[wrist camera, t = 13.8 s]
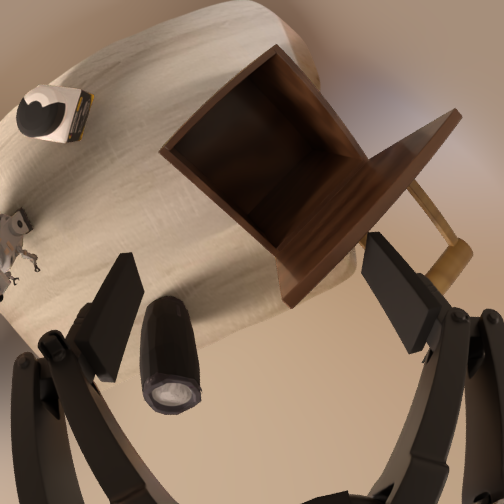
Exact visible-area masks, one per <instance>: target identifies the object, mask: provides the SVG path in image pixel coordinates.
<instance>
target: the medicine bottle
mask: <svg viewBox="0 0 504 504" xmlns="http://www.w3.org/2000/svg"><path fill="white" fill-rule="evenodd" d="M93 99H94V95H93V94H90V93H88V92H86V91H83V90H81V89H76V88H69V87H61V86H52V85H41V84H39V85H37V87H36V88H34V89H32V90H30V91H29V92H28V93H27V94H26V95H25V96H24V97H23V99H22V100H21V102H20V104H19V106H18V109H17V115H16V120H17V125H18V128H19V130H20V132H21V133H22V134H23V135H24V136H25V137H30V138H36V139H42V140H48V141H54V142H59V143H69V142H75V141H80V140H81V139H82V135H83V132H84V128H85V125H86V121H87V118H88V114H89V111H90V108H91V105H92V102H93Z"/></svg>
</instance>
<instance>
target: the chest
mask: <svg viewBox="0 0 504 504" xmlns="http://www.w3.org/2000/svg"><path fill="white" fill-rule="evenodd" d="M159 153H160V154H161V155H162V156H163V157H164V158H165V159H166V160H168V161H169V162H170V163H171V164H172V165H173V166H174V167H175V168H177V169H178V170H179V171H180V172H181V173H182V174H183V175H184V176H186V177H187V178H188V179H189V180H190V181H191V182H192V183H194V184H195V185H196V186H197V187H198V188H199V189H200V190H201V191H203V192H204V193H205V194H206V195H207V196H208V197H209V198H210V199H211V200H213V201H214V202H215V203H216V204H217V205H218V206H219V207H220V208H222V209H223V210H224V211H225V212H226V213H227V214H228V215H229V216H230V217H232V218H233V219H234V220H235V221H236V222H237V223H238V224H239V225H240V226H242V227H243V228H244V229H245V230H246V231H247V232H248V233H249V234H250V235H252V236H253V237H254V238H255V239H256V240H257V241H258V242H259V243H260V244H262V245H263V246H264V247H265V248H266V249H267V250H268V251H269V252H270V253H271V254H273V255H274V256H276V255H277V254H278V253H279V252H280V251H281V250H282V249H283V248H284V247H285V246H286V245H287V244H288V243H289V242H290V241H291V240H292V239H293V238H294V237H295V236H296V235H297V234H298V233H299V232H300V231H301V230H302V229H303V228H304V227H305V226H306V224H307V223H308V222H309V221H310V220H311V219H312V218H313V217H314V216H315V215H316V214H317V213H318V212H319V211H320V210H321V209H322V208H323V207H324V206H325V205H326V204H327V203H328V202H329V201H330V200H331V199H332V198H333V197H334V196H335V195H336V194H337V193H338V191H339V190H340V189H341V188H342V187H343V186H344V185H345V184H346V183H347V182H348V181H349V180H350V179H351V178H352V177H353V176H354V175H355V174H356V173H357V172H358V171H359V169H360V168H361V167H362V166H363V165H364V164H365V163H366V162H367V161H368V160H369V159H368V158H367V156H366V155H365V153H364V152H363V150H362V149H361V147H360V146H359V144H358V143H357V142H356V140H355V138H354V137H353V136H352V134H351V133H350V131H349V130H348V129H347V127H346V126H345V124H344V123H343V122H342V120H341V119H340V118H339V116H338V115H337V114H336V112H335V111H334V110H333V108H332V107H331V106H330V104H329V103H328V102H327V101H326V99H325V98H324V97H323V96H322V94H321V93H320V92H319V91H318V89H317V88H316V87H315V86H314V85H313V83H312V82H311V81H310V80H309V79H308V77H307V76H306V75H305V74H304V73H303V72H302V71H301V69H300V68H299V67H298V66H297V65H296V64H295V63H294V62H293V61H292V59H291V58H290V57H289V56H288V55H287V54H286V53H285V52H284V51H283V50H282V49H281V48H280V47H279V46H278V45H277V44H276V45H274V46H273V47H272V48H270V49H269V50H267V51H266V52H265V53H263V54H262V55H261V56H259V57H258V58H257V59H256V60H254V61H253V62H252V63H250V64H249V65H248V66H247V67H245V68H244V69H243V70H242V71H240V72H239V73H238V74H237V75H236V76H235V77H233V78H232V79H231V80H230V81H229V82H228V83H226V84H225V85H224V86H223V87H222V88H221V89H220V90H219V91H218V92H216V93H215V94H214V95H213V96H212V97H211V98H210V99H209V100H208V101H207V102H206V103H205V104H204V105H202V106H201V107H200V108H199V109H198V110H197V111H196V112H195V113H194V114H193V115H192V116H191V117H190V118H189V119H188V120H187V121H186V122H185V123H184V124H183V125H182V126H181V127H180V128H179V129H178V130H177V131H176V132H175V133H174V135H173V136H172V137H171V138H170V139H169V140H168V141H167V142H166V143H165V144H164V145H163V147H162V148H161V149H160V150H159Z"/></svg>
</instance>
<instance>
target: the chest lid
mask: <svg viewBox="0 0 504 504" xmlns="http://www.w3.org/2000/svg"><path fill="white" fill-rule="evenodd" d="M461 119H462V115H461V114H460V113H459V112H458V110H457V109H455V108H454V109H453V110H451V111H449V112H448V113H446V114H444V115H442V116H441V117H439V118H437V119H436V120H434V121H433V122H431V123H429V124H427V125H425V126H424V127H422V128H420V129H419V130H417V131H416V132H414V133H412V134H410V135H409V136H407V137H405V138H404V139H402V140H400V141H399V142H397V143H395V144H393V145H392V146H390V147H389V148H387V149H385V150H384V151H382V152H380V153H379V154H377V155H375V156H374V157H372V158H370V159H369V160H368V161H367V162H366V163H365V164H364V165H363V166H362V167H361V168H360V169H359V171H358V172H357V173H356V174H355V175H354V176H353V177H352V178H351V179H350V180H349V181H348V182H347V183H346V184H345V185H344V186H343V187H342V188H341V189H340V190H339V191H338V193H337V194H336V195H335V196H334V197H333V198H332V199H331V200H330V201H329V202H328V203H327V204H326V205H325V206H324V207H323V208H322V209H321V210H320V211H319V212H318V213H317V214H316V215H315V216H314V217H313V218H312V219H311V220H310V221H309V222H308V223H307V224H306V226H305V227H304V228H303V229H302V230H301V231H300V232H299V233H298V234H297V235H296V236H295V237H294V238H293V239H292V240H291V241H290V242H289V243H288V244H287V245H286V246H285V247H284V248H283V249H282V250H281V251H280V252H279V253H278V254H277V255H276V256H275V260H276V266H277V273H278V279H279V285H280V291H281V298H282V301H283V302H284V303H285V304H286V305H287V306H288V307H289V308H290V309H293V308H294V307H295V306H296V305H297V304H298V303H299V302H300V301H301V300H302V299H303V298H304V297H305V296H306V295H307V294H308V293H309V292H310V291H311V290H312V289H313V288H314V287H316V286H317V285H318V284H319V283H320V282H321V281H322V280H323V279H324V278H325V277H326V276H327V275H328V274H329V272H330V271H331V270H332V269H333V268H334V267H335V266H336V265H337V264H338V263H339V262H340V261H341V260H342V259H343V258H344V257H345V256H346V255H347V254H348V253H349V252H350V251H351V250H352V249H353V248H354V247H355V246H356V244H357V243H359V244H360V245H361V246H362V247H363V248H364V249H365V246H366V239H367V233H368V232H369V230H370V229H371V228H372V227H373V226H374V225H375V224H376V223H377V222H378V221H379V219H380V218H381V217H382V216H383V215H384V214H385V213H386V212H387V210H388V209H389V208H390V207H391V206H392V205H393V204H394V202H395V201H396V200H397V199H398V198H399V196H401V194H402V193H403V192H404V191H405V190H406V189H407V190H408V191H409V192H410V194H411V195H412V196H413V197H414V198H415V200H416V201H417V202H418V203H419V205H420V206H421V207H422V209H423V210H424V211H425V213H426V214H427V215H428V217H429V218H430V219H431V221H432V222H433V223H434V225H435V226H436V228H437V229H438V230H439V232H440V233H441V235H442V236H443V237H444V239H445V240H446V242H447V243H448V245H449V246H448V247H447V249H446V250H445V251H444V252H443V254H442V255H441V256H440V258H439V259H438V260H437V261H436V263H435V264H434V265H433V266H432V268H431V269H430V270H429V271H428V273H427V274H426V275H425V276H426V277H427V278H429V280H430V281H431V282H432V283H433V284H434V286H435V287H436V288H437V289H438V291H439V292H440V293H441V294H442V295H444V294H445V293H446V291H447V290H448V289H449V288H450V286H451V285H452V284H453V283H454V281H455V280H456V279H457V277H458V276H459V275H460V273H461V272H462V271H463V269H464V268H465V266H466V265H467V264H468V262H469V261H470V260H471V258H472V256H473V251H472V249H471V248H470V246H469V245H468V244H467V243H466V242H465V241H464V240H462V239H460V238H457V236H456V235H455V233H454V232H453V230H452V229H451V227H450V226H449V224H448V223H447V221H446V220H445V219H444V217H443V216H442V214H441V213H440V212H439V210H438V209H437V207H436V206H435V205H434V203H433V202H432V201H431V199H430V198H429V197H428V195H427V194H426V193H425V192H424V190H423V189H422V188H421V187H420V185H419V184H418V183H417V182H416V180H415V178H416V176H417V175H418V174H419V173H420V171H422V169H423V168H424V166H425V165H426V164H427V163H428V162H429V161H430V159H431V158H432V157H433V155H434V154H435V153H436V152H437V150H438V149H439V148H440V147H441V145H442V144H443V143H444V141H445V140H446V139H447V138H448V136H449V135H450V134H451V132H452V131H453V130H454V128H455V127H456V126H457V124H458V123H459V122H460V120H461Z"/></svg>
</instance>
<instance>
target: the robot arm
mask: <svg viewBox="0 0 504 504" xmlns="http://www.w3.org/2000/svg"><path fill="white" fill-rule="evenodd" d="M361 274H362V275H363V277H364V278H365V280H366V281H367V283H368V285H369V286H370V288H371V289H372V291H373V293H374V294H375V296H376V298H377V299H378V301H379V303H380V304H381V306H382V308H383V309H384V311H385V313H386V314H387V316H388V318H389V320H390V321H391V323H392V325H393V327H394V328H395V330H396V332H397V334H398V335H399V337H400V339H401V341H402V343H403V344H404V346H405V348H406V350H407V352H408V354H412V353H416V352H419V351H422V350H423V348H424V346H425V343H426V342H427V344H428V345H429V347H430V348H429V350H428V352H427V354H426V356H425V358H424V360H423V361H422V363H424V362H425V363H424V367H423V370H422V374H421V377H420V381H419V384H418V387H417V390H416V393H415V397H414V399H413V402H412V405H411V408H410V411H409V414H408V416H407V419H406V422H405V424H404V427H403V429H402V432H401V434H400V436H399V439H398V441H397V443H396V446H395V448H394V450H393V452H392V455H391V457H390V459H389V461H388V463H387V465H386V467H385V469H384V471H383V473H382V475H381V476H380V478H379V479H378V480H377V482H376V483H375V484H374V486H373V487H372V489H371V491H370V492H369V494H368V495H367V496H362V495H353V494H349V493H348V491H343V492H339V493H335V494H331V495H326V496H321V497H317V498H314V499H312V500H309V501H307V502H304V503H302V504H437V503H438V501H439V498H440V496H441V493H442V491H443V488H444V486H445V483H446V480H447V477H448V473H449V466H448V465H447V464H446V460H447V456H448V453H449V450H450V446H451V443H452V439H453V436H454V432H455V428H456V424H457V420H458V415H459V411H460V406H461V401H462V395H463V390H464V388H465V404H466V452H465V467H464V477H463V487H462V504H504V322H503V319H502V317H501V315H500V314H499V313H498V312H497V311H495V310H492V309H485V310H484V311H483V313H482V314H481V317H470V316H469V315H468V313H466V312H465V311H464V310H462V309H460V308H456V307H453V308H452V307H451V305H450V304H449V303H448V301H447V300H446V299H445V298H444V296H443V295H442V294H441V293H440V292H439V291H438V289H437V288H436V287H435V286H434V284H433V283H432V282H431V281H430V280H429V278H427V277H426V276H424V275H423V274H421V273H415V272H414V270H413V269H412V268H411V267H410V266H409V264H408V263H407V262H406V261H405V260H404V259H403V258H402V256H401V255H400V254H399V253H398V252H397V251H396V250H395V249H394V247H393V246H392V245H391V244H390V243H389V242H388V241H387V240H386V239H385V238H384V236H383V235H382V234H381V233H380V232H368V233H367V239H366V246H365V253H364V259H363V265H362V271H361ZM143 295H144V289H143V286H142V283H141V280H140V277H139V273H138V270H137V267H136V264H135V260H134V257H133V254H132V252H130V253H120V255H119V256H118V258H117V260H116V261H115V263H114V265H113V266H112V268H111V270H110V271H109V273H108V275H107V277H106V278H105V280H104V282H103V284H102V286H101V287H100V289H99V291H98V293H97V295H96V297H95V298H94V300H93V302H92V303H87V304H86V305H85V306H84V307H82V308H81V309H80V311H79V313H78V315H77V318H76V319H75V321H74V324H73V325H72V326H71V328H70V330H69V332H68V334H67V336H66V338H64V336H63V335H62V333H61V332H60V331H58V330H51V331H49V332H47V333H45V334H44V335H43V336H42V337H41V338H40V340H39V342H38V349H39V350H40V351H41V353H42V354H43V356H44V358H39V359H36V358H35V357H34V355H33V354H32V353H30V352H24V353H23V354H21V355H19V356H18V357H17V359H16V360H15V362H14V367H13V378H12V393H11V441H12V455H13V465H14V474H15V481H16V487H17V493H18V498H19V503H20V504H84V500H83V497H82V494H81V491H80V487H79V484H78V480H77V476H76V472H75V468H74V464H73V460H72V455H71V450H70V445H69V439H68V434H67V427H66V422H65V415H66V417H67V420H68V422H69V425H70V427H71V429H72V431H73V434H74V436H75V438H76V440H77V442H78V445H79V446H80V449H81V451H82V453H83V454H84V457H85V459H86V461H87V463H88V464H89V466H90V468H91V470H92V472H93V474H94V475H95V477H96V479H97V481H98V482H99V484H100V486H101V487H102V489H103V491H104V492H105V494H106V495H107V497H108V498H109V501H110V504H179V503H177V502H176V501H175V500H174V499H173V498H172V497H171V496H170V494H169V493H168V492H167V491H166V490H165V489H164V487H163V486H162V485H161V484H160V482H159V481H158V480H157V479H156V477H155V476H154V475H153V474H152V473H151V471H150V470H149V468H148V467H147V466H146V464H145V463H144V462H143V460H142V459H141V457H140V456H139V455H138V453H137V452H136V450H135V449H134V447H133V446H132V445H131V443H130V441H129V440H128V438H127V437H126V436H125V434H124V432H123V431H122V429H121V427H120V426H119V424H118V423H117V421H116V419H115V418H114V416H113V414H112V412H111V411H110V409H109V408H108V406H107V404H106V402H105V400H104V398H103V397H102V395H101V393H100V391H99V389H98V387H97V385H96V383H95V382H94V381H93V380H94V377H95V374H96V375H97V377H98V378H99V379H100V381H102V382H113V383H115V381H116V378H117V374H118V371H119V367H120V364H121V361H122V357H123V354H124V351H125V348H126V345H127V341H128V338H129V335H130V332H131V329H132V326H133V323H134V320H135V317H136V314H137V312H138V309H139V306H140V303H141V300H142V297H143ZM64 412H65V413H64Z"/></svg>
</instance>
